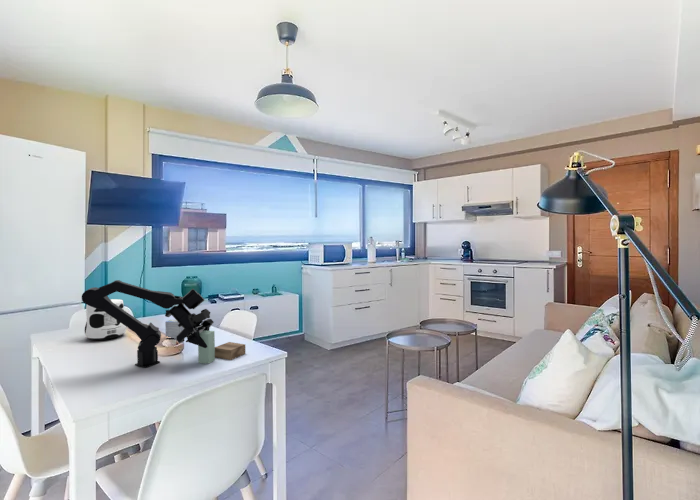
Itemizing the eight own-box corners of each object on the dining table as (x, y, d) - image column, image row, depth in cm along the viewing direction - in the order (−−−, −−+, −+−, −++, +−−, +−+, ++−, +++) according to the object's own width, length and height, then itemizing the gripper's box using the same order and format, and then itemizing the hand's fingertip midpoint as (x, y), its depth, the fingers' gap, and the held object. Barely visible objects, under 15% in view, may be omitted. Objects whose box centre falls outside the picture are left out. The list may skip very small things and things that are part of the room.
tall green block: (208, 363, 147) (208, 333, 146) (198, 363, 148) (198, 333, 147) (214, 360, 151) (214, 331, 151) (204, 359, 152) (204, 330, 152)
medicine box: (185, 336, 186) (185, 319, 186) (180, 339, 182) (180, 321, 182) (170, 336, 187) (170, 319, 187) (165, 338, 183) (165, 321, 182)
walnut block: (230, 359, 151) (230, 350, 151) (214, 356, 155) (213, 347, 155) (245, 353, 160) (245, 344, 159) (229, 350, 163) (229, 341, 163)
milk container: (101, 332, 194) (100, 298, 193) (133, 333, 193) (133, 298, 192) (75, 342, 177) (74, 304, 176) (111, 342, 176) (110, 305, 175)
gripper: (182, 308, 140) (210, 338, 139) (209, 299, 158) (233, 326, 157) (164, 328, 142) (191, 358, 140) (192, 317, 160) (216, 343, 159)
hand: (209, 345), depth 149 cm, fingers closed on tall green block, 4 cm apart
